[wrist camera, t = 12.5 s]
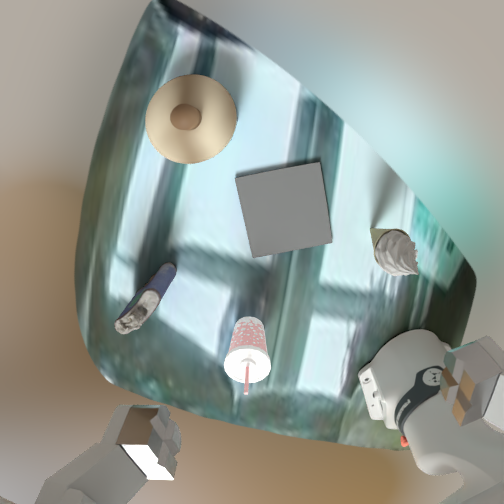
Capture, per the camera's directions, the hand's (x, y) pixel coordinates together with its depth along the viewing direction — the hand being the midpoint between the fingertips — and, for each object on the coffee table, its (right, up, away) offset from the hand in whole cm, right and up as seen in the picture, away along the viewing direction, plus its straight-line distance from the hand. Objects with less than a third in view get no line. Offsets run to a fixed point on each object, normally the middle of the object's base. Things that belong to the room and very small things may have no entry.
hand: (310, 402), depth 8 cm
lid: (-9, +19, +26) cm, 33 cm away
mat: (+3, +10, +34) cm, 35 cm away
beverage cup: (-2, -8, +40) cm, 41 cm away
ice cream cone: (+15, +7, +35) cm, 38 cm away
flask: (-16, -1, +38) cm, 41 cm away
